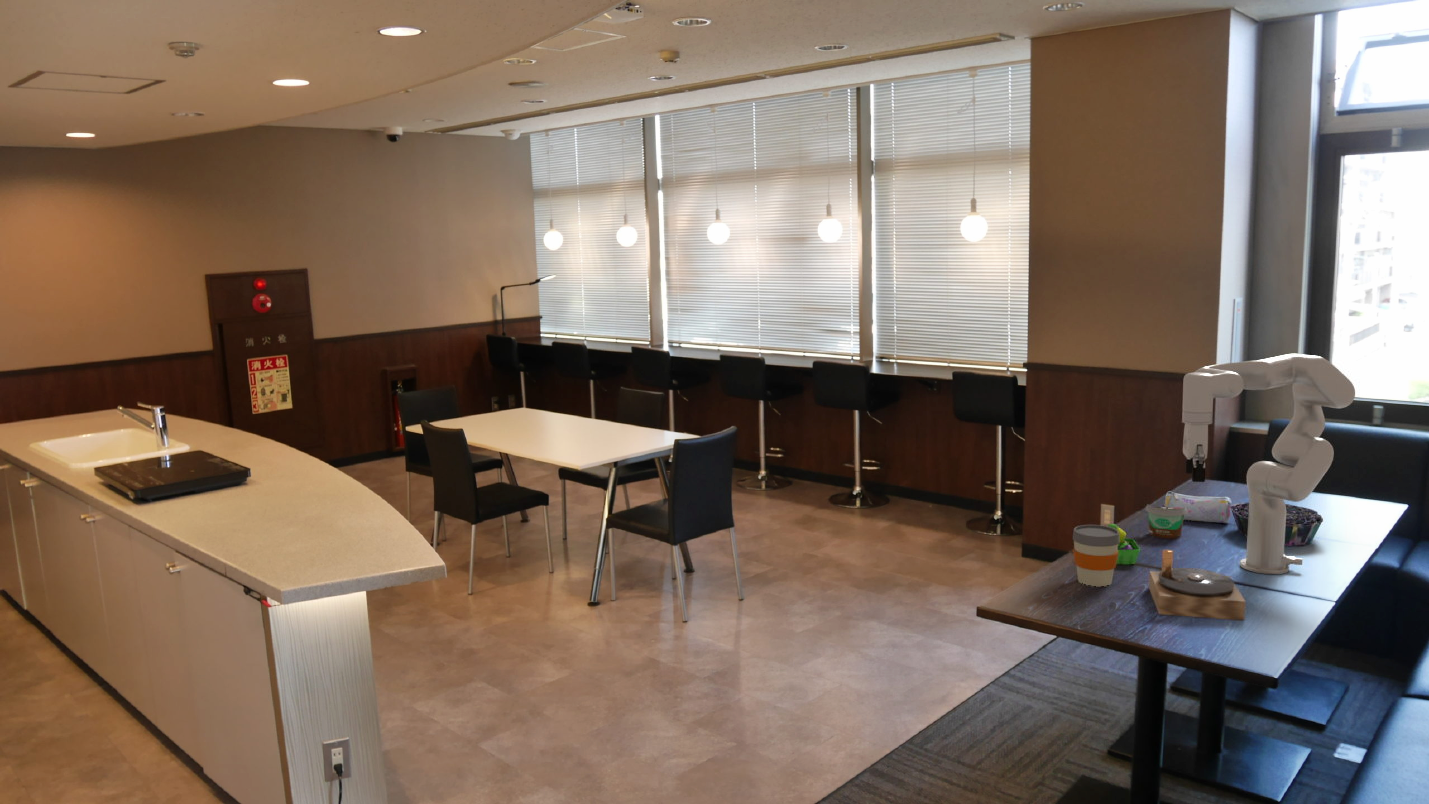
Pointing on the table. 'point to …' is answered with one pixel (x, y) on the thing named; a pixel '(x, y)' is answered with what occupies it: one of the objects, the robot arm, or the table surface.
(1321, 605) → the table surface
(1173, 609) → the block
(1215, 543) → the table surface
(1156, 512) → the food container
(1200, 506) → the pencil case
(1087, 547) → the reusable coffee cup
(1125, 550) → the fruit basket
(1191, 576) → the handwheel
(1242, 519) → the decorative bowl
